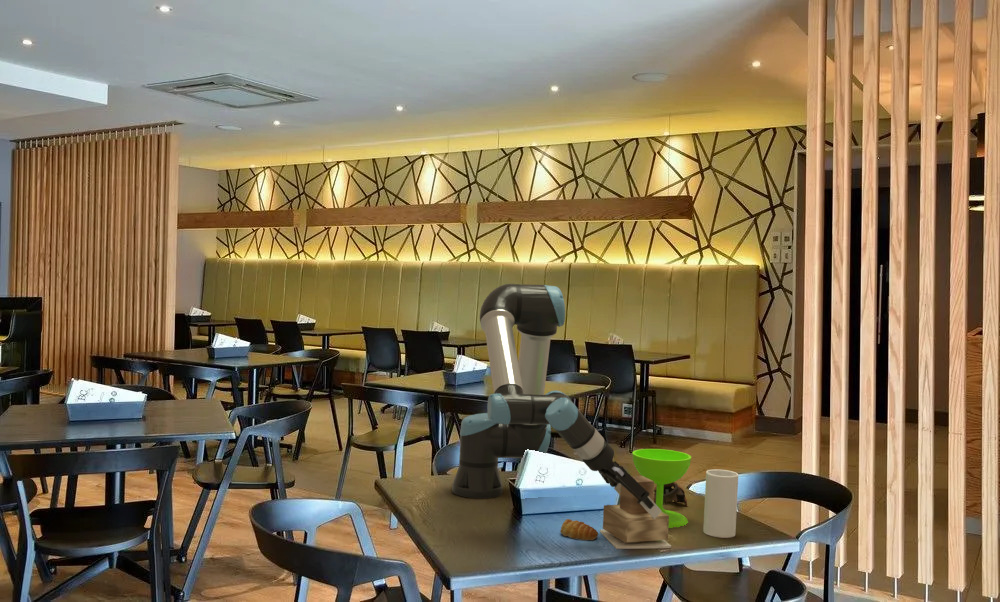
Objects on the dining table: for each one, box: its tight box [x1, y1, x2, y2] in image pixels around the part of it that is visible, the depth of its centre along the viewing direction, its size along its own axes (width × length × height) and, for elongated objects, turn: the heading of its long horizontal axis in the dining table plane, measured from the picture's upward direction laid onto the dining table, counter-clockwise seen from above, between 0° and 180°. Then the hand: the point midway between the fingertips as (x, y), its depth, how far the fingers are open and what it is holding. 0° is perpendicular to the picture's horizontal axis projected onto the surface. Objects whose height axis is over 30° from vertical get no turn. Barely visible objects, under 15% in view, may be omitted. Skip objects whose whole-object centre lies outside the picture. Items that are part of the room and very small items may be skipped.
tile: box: [599, 529, 672, 550], centre depth 223 cm, size 14×14×1 cm
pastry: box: [559, 518, 599, 541], centre depth 224 cm, size 9×7×4 cm
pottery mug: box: [653, 481, 688, 507], centre depth 260 cm, size 12×10×8 cm
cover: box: [602, 475, 669, 543], centre depth 223 cm, size 12×12×14 cm
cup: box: [702, 468, 739, 539], centre depth 232 cm, size 8×8×16 cm
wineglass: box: [631, 448, 692, 529], centre depth 243 cm, size 16×16×18 cm
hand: (644, 508), depth 224 cm, fingers closed on cover, 12 cm apart
